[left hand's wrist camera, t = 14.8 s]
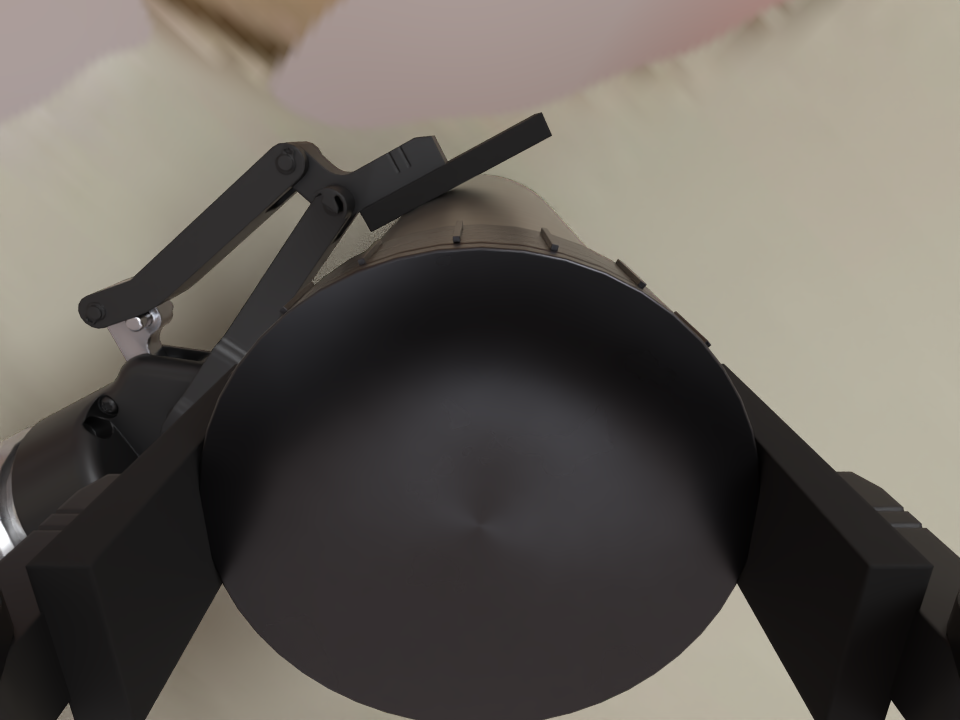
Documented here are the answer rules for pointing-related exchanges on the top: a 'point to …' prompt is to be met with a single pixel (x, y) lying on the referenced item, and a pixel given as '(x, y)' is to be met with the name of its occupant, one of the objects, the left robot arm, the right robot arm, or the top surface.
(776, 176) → the top surface
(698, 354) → the lid
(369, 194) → the right robot arm
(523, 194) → the jar
